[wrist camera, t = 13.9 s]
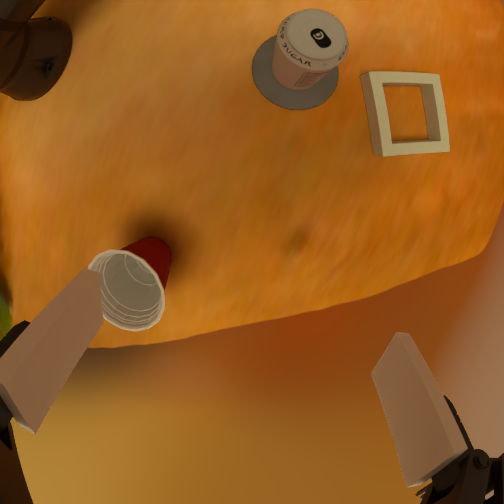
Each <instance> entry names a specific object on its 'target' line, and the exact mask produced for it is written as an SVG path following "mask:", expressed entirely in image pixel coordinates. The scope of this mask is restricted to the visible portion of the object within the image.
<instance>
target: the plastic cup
mask: <svg viewBox="0 0 504 504" xmlns="http://www.w3.org/2000/svg"><path fill="white" fill-rule="evenodd" d="M170 264H171V252H170V250H169V247H168V246H167V245H166V244H165V243H164V241H162V240H160V239H158V238H156V237H147V238H144V239H141V240H139V241H137V242H135V243H133V244H130V245H128V246H126V247H124V248H122V249H120V250H116V249H110V250H108V251H105V252H102V253H100V254H97V256H96V257H95V258H94V259H93V260H92V262H91V263H90V264H89V266H88V269H89V270H92V271H96V272H99V273H100V290H101V304H102V315H103V317H104V318H105V319H106V320H107V321H108V322H110V323H112V324H113V325H115V326H117V327H119V328H121V329H125V330H130V331H141V330H146V329H149V328H151V327H152V326H153V325H154V324H156V323H157V322H158V321H160V318H161V316H162V313H163V311H164V309H165V287H166V283H167V279H168V275H169V268H170Z"/></svg>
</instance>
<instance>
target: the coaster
mask: <svg viewBox="0 0 504 504" xmlns="http://www.w3.org/2000/svg"><path fill="white" fill-rule="evenodd" d="M276 38H277V35H276V36H274V37H271V38H270V39H268V40H267V41H265V42H264V43H263V44H262V45H261V46H260V47H259V49H258V50H257V52H256V54H255V56H254V59H253V64H252V73H253V78H254V82H255V84H256V86H257V88H258V89H259V91H260V92H261V93H262V95H263V96H264V97H266V98H267V99H268V100H269V101H271V102H272V103H274V104H276V105H278V106H280V107H283V108H286V109H291V110H305V109H310V108H313V107H316V106H318V105H320V104H321V103H323V102H325V101H326V100H327V99H328V98H329V97H330V96H331V95H332V93H333V92H334V90H335V88H336V86H337V82H338V66H336V67H335V68H334V69H332V70H331V71H330V72H329V73H328V74H326V75H325V76H324V77H323V78H321V79H320V80H319V81H318V82H317V83H315V84H314V85H313V86H312V87H310V88H308V89H304V90H292V89H288V88H286V87H284V86H283V85H281V84H280V83H279V82H278V81H277V80H276V78H275V77H274V75H273V72H272V62H273V56H274V50H275V44H276Z"/></svg>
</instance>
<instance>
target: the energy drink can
mask: <svg viewBox="0 0 504 504" xmlns="http://www.w3.org/2000/svg"><path fill="white" fill-rule="evenodd" d="M348 44H349V43H348V37H347V33H346V30H345V28H344V26H343V24H342V23H341V22H340V21H339V20H338V19H337V18H336V17H335V16H334V15H332V14H330V13H328V12H326V11H323V10H319V9H305V10H302V11H299V12H296V13H293V14H291V15H289V16H288V17H286V18H285V19H284V20H283V21H282V23H281V24H280V26H279V29H278V32H277V38H276V44H275V50H274V56H273V62H272V72H273V75H274V77H275V78H276V80H277V81H278V82H279V83H280V84H281V85H283V86H284V87H286V88H288V89H292V90H304V89H308V88H310V87H312V86H313V85H314V84H315V83H317V82H318V81H319V80H320V79H321V78H323V77H324V76H325V75H326V74H328V73H329V72H330V71H331V70H332V69H334V68H335V67H336V66H337V65H339V64H340V63H341V62H342V61H343V60H344V58H345V57H346V55H347V52H348Z"/></svg>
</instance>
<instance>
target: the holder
mask: <svg viewBox="0 0 504 504" xmlns="http://www.w3.org/2000/svg"><path fill="white" fill-rule="evenodd" d="M360 79H361V84H362V89H363V94H364V99H365V104H366V110H367V115H368V121H369V128H370V134H371V141H372V149H373V154H375V155H379V156H394V155H405V154H418V153H434V152H450V147H449V136H448V127H447V118H446V111H445V105H444V98H443V93H442V87H441V82H440V77H439V74H430V73H415V72H388V71H370V72H367V73H365V74H363V75H361V76H360ZM383 86H420V87H421V93H422V98H423V104H424V110H425V117H426V124H427V132H428V139H425V140H406V141H392V139H391V132H390V125H389V118H388V112H387V106H386V101H385V95H384V90H383Z"/></svg>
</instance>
